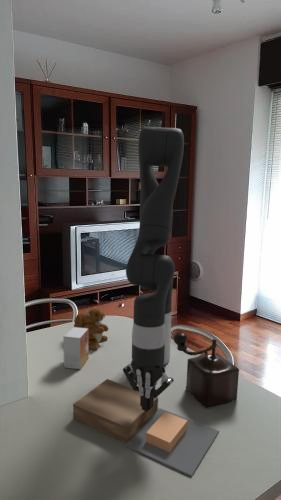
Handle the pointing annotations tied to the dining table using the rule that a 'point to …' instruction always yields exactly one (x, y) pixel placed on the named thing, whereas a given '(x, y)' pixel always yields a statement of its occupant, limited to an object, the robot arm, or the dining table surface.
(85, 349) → the small box
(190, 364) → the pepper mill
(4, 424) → the dining table surface
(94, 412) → the brown box
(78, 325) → the brown teddy bear
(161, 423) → the orange tan block
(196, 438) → the mat
